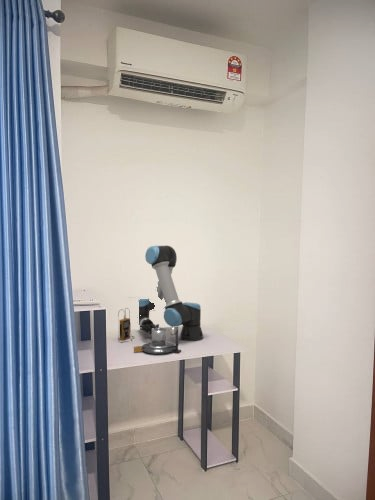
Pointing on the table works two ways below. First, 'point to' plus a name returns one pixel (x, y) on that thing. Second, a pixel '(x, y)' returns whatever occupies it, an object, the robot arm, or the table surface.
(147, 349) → the turntable
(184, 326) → the robot arm
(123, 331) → the multimeter
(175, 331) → the indicator
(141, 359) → the table surface
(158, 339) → the cover
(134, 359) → the table surface
